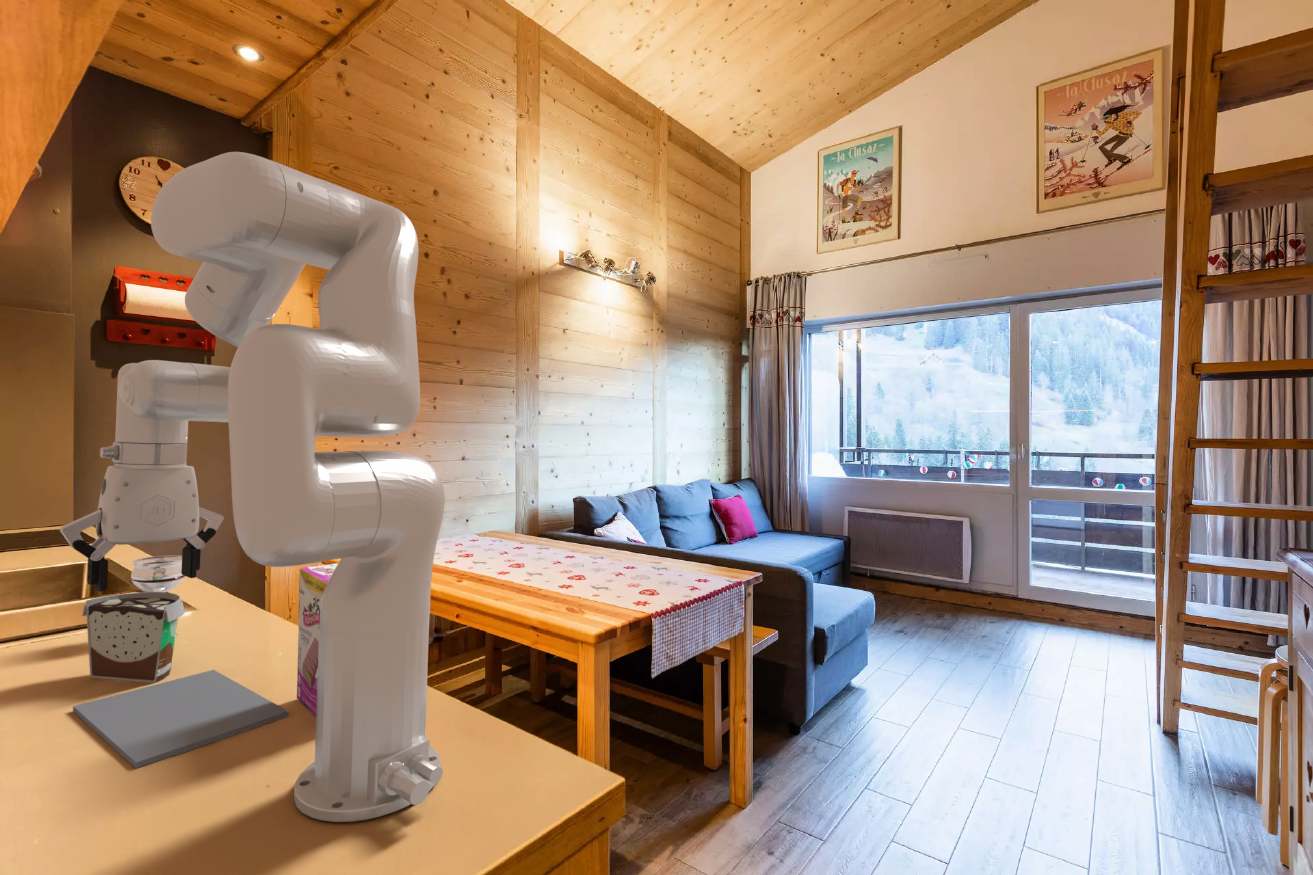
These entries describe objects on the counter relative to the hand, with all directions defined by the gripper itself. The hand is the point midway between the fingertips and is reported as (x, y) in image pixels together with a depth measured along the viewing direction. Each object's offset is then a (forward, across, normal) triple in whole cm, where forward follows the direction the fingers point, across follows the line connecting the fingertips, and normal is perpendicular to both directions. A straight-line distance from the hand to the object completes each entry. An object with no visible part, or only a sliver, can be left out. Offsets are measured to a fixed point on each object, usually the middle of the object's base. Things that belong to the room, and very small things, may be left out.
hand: (146, 582), depth 82 cm
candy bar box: (+11, +9, -31) cm, 34 cm away
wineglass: (+12, +6, +14) cm, 20 cm away
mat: (+11, -2, -19) cm, 22 cm away
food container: (+12, 0, -1) cm, 12 cm away
